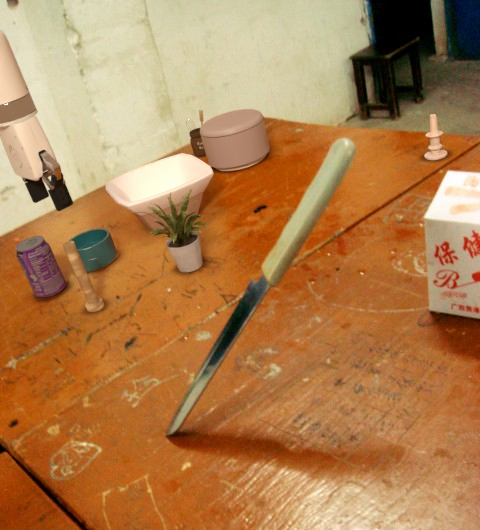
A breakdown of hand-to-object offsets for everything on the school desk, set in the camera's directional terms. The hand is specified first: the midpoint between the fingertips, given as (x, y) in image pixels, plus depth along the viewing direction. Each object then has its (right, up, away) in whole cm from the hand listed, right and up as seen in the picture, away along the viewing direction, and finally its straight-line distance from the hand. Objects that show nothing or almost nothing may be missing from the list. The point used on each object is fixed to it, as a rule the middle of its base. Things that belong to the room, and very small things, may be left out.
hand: (53, 203), depth 116 cm
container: (+34, +24, +65) cm, 77 cm away
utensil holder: (+23, +29, +78) cm, 86 cm away
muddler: (+5, -19, +12) cm, 23 cm away
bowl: (+16, +4, +42) cm, 46 cm away
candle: (+80, +17, +35) cm, 89 cm away
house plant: (+23, -11, +17) cm, 30 cm away
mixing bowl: (+1, -8, +30) cm, 31 cm away
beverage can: (-7, -15, +23) cm, 29 cm away
